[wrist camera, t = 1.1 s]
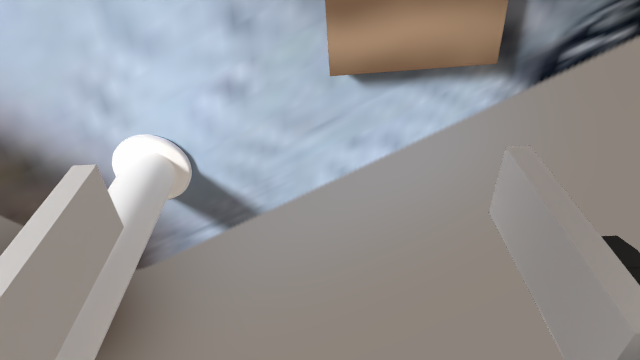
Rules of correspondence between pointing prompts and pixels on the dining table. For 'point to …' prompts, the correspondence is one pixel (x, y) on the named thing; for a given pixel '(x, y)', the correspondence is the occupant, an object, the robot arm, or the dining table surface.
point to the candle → (128, 231)
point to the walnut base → (412, 34)
